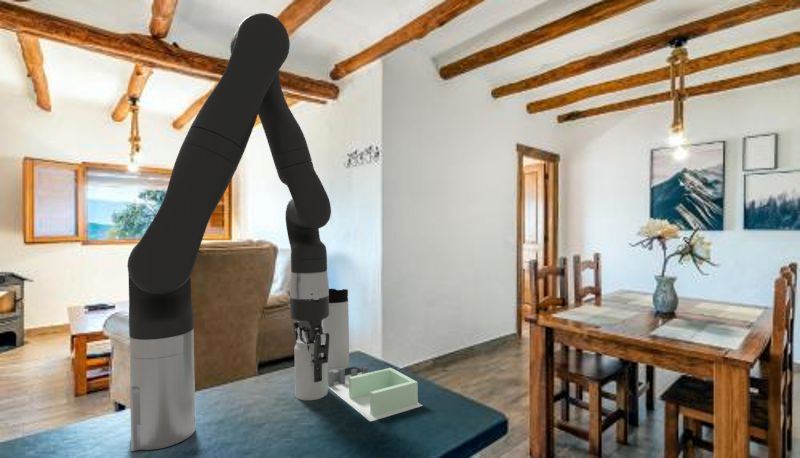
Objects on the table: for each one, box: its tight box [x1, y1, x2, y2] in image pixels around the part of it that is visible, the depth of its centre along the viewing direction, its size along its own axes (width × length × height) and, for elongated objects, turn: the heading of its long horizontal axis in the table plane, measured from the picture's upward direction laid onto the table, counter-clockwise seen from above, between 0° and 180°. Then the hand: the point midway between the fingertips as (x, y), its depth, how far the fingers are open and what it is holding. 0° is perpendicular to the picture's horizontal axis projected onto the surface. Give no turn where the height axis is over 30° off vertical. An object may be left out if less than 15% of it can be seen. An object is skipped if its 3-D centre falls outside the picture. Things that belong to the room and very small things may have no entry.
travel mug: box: [321, 288, 350, 371], centre depth 98 cm, size 6×7×20 cm
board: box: [328, 366, 424, 422], centre depth 83 cm, size 11×22×4 cm, turn 33°
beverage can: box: [293, 339, 329, 401], centre depth 83 cm, size 6×6×12 cm
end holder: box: [349, 367, 419, 417], centre depth 79 cm, size 10×10×4 cm
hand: (311, 378), depth 83 cm, fingers closed on beverage can, 5 cm apart
